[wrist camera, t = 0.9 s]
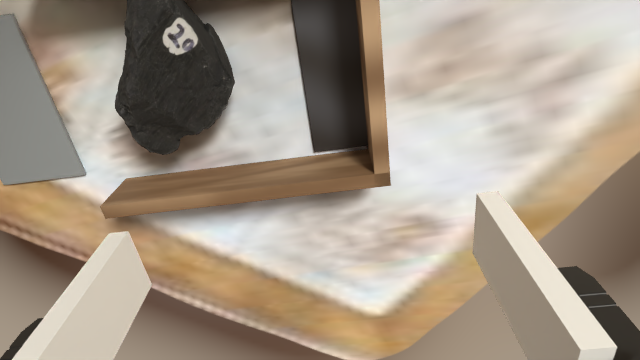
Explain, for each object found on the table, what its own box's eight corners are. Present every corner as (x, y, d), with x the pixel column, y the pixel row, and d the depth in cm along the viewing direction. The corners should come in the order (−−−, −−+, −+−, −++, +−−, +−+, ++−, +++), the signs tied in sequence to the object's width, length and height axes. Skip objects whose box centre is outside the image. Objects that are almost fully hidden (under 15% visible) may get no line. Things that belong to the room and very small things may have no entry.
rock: (84, 148, 30) (131, 120, 23) (100, 17, 32) (147, -48, 25) (183, 164, 35) (246, 145, 28) (192, 50, 37) (253, 5, 30)
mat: (-83, 28, 32) (-86, 28, 31) (13, 13, 31) (10, 14, 31) (6, 183, 38) (3, 185, 38) (86, 173, 38) (84, 175, 37)
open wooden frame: (43, -25, 30) (-6, -24, 25) (365, -77, 28) (373, -85, 24) (130, 189, 38) (105, 218, 34) (382, 159, 37) (390, 185, 32)
